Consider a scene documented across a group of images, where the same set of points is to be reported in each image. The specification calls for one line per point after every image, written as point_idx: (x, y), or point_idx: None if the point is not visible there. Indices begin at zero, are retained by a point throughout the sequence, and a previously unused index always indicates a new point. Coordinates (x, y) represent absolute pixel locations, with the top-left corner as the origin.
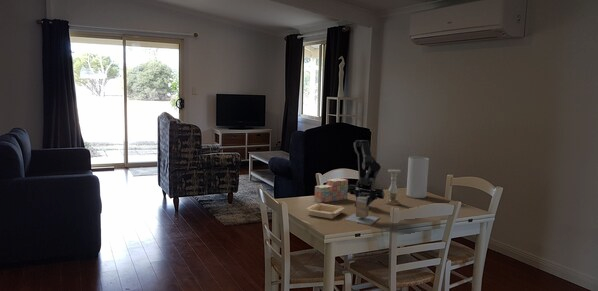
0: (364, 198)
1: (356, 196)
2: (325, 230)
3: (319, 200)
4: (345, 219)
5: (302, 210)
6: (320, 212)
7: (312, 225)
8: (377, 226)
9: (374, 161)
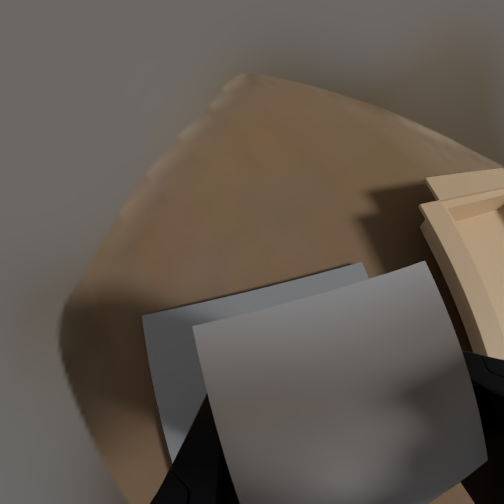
0: (251, 330)
1: (499, 363)
2: (286, 93)
3: None
4: (360, 270)
5: None
6: (468, 173)
7: (373, 108)
8: (96, 326)
9: None
